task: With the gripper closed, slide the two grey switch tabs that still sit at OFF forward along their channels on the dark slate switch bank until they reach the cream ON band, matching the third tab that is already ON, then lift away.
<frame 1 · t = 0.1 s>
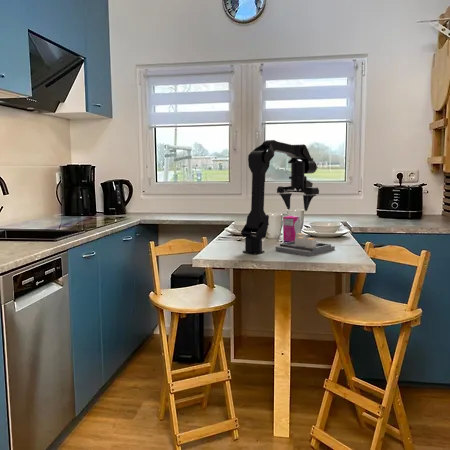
hand: (297, 210, 199), 15 cm above the table, tool pointing down, fingers open, 9 cm apart
switch tab 3: (300, 238, 191), point 4 cm above the table, slide at 7.0 cm
switch tab 1: (310, 243, 179), point 4 cm above the table, slide at 0.0 cm
switch tab 2: (300, 242, 182), point 4 cm above the table, slide at 0.0 cm
supplement box: (291, 242, 205), on the table
switch bank: (305, 250, 185), on the table
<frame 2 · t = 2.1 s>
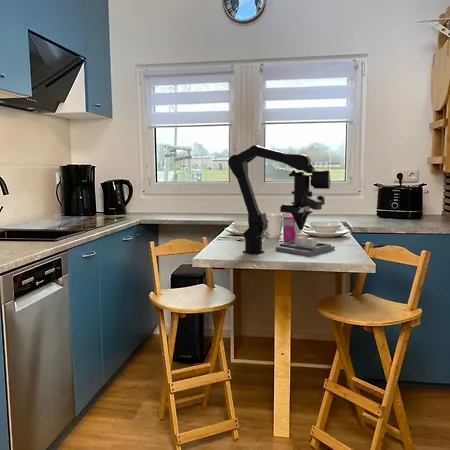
hand: (301, 229, 173), 10 cm above the table, tool pointing down, fingers closed
nothing on the table moved.
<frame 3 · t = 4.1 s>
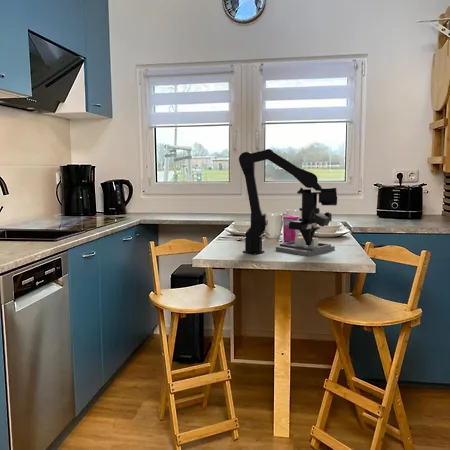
hand: (308, 245, 178), 3 cm above the table, tool pointing down, fingers closed
switch tab 1: (312, 243, 180), point 4 cm above the table, slide at 1.4 cm, touching gripper
everything else where it was.
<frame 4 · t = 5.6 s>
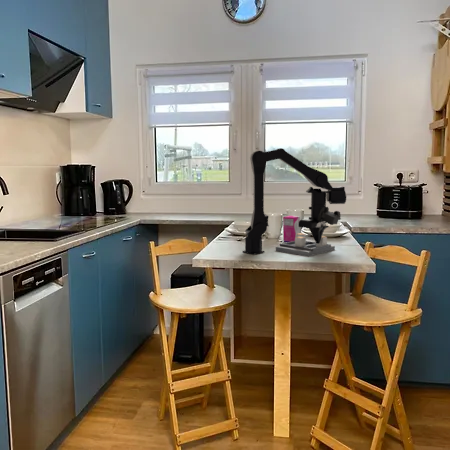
hand: (317, 243, 182), 3 cm above the table, tool pointing down, fingers closed
switch tab 1: (321, 241, 184), point 4 cm above the table, slide at 7.6 cm, touching gripper
everything else where it was.
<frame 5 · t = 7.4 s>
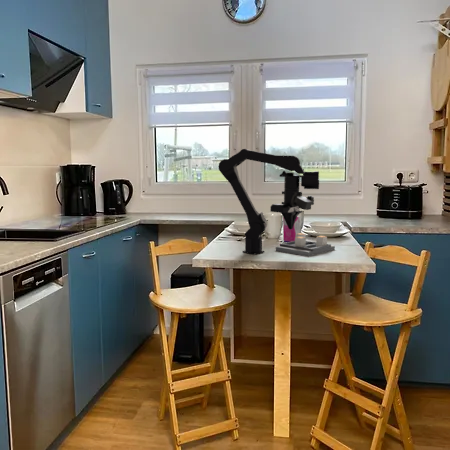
hand: (290, 229, 177), 10 cm above the table, tool pointing down, fingers closed
switch tab 1: (321, 241, 184), point 4 cm above the table, slide at 7.6 cm
everything else where it was.
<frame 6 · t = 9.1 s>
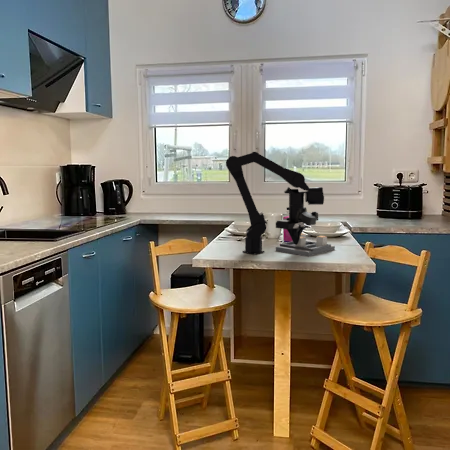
hand: (295, 244, 180), 3 cm above the table, tool pointing down, fingers closed
switch tab 2: (300, 242, 182), point 4 cm above the table, slide at 0.0 cm, touching gripper
everything else where it was.
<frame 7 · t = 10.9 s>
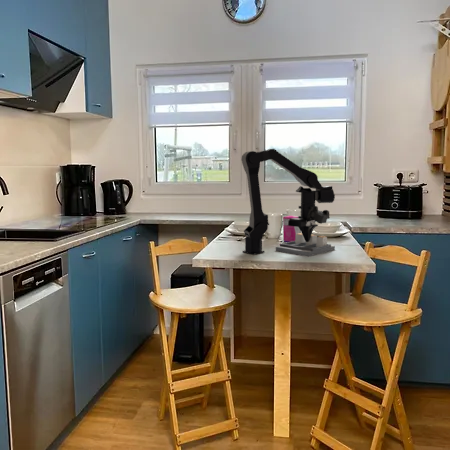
hand: (307, 241, 185), 3 cm above the table, tool pointing down, fingers closed
switch tab 2: (311, 240, 187), point 4 cm above the table, slide at 7.6 cm, touching gripper
everything else where it was.
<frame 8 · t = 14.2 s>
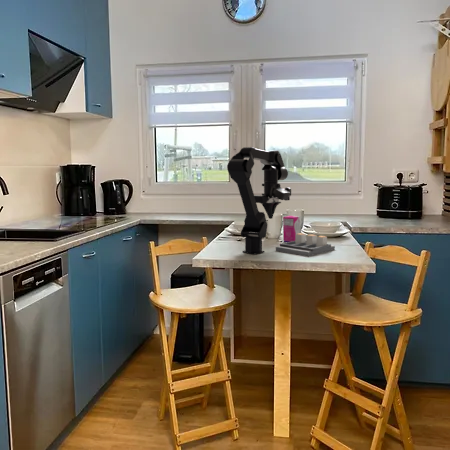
hand: (270, 218, 191), 12 cm above the table, tool pointing down, fingers closed
switch tab 2: (311, 240, 187), point 4 cm above the table, slide at 7.6 cm
everything else where it was.
at the end: switch tab 1 slide at 7.6 cm; switch tab 2 slide at 7.6 cm; switch tab 3 slide at 7.0 cm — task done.
